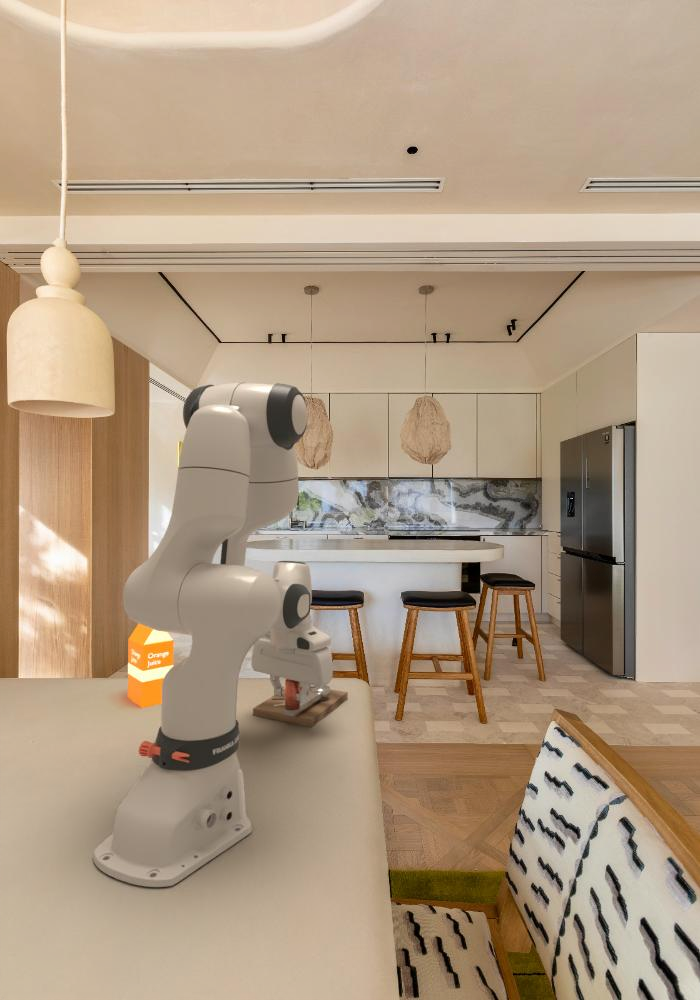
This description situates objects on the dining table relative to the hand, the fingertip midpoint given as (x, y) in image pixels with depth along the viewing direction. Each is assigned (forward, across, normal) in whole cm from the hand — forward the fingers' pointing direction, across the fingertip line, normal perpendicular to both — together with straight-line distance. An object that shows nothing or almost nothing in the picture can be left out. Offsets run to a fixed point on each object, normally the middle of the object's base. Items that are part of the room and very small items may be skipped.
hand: (289, 698), depth 122 cm
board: (+6, -4, +10) cm, 12 cm away
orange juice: (+6, -37, -8) cm, 38 cm away
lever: (+3, -1, +6) cm, 7 cm away
